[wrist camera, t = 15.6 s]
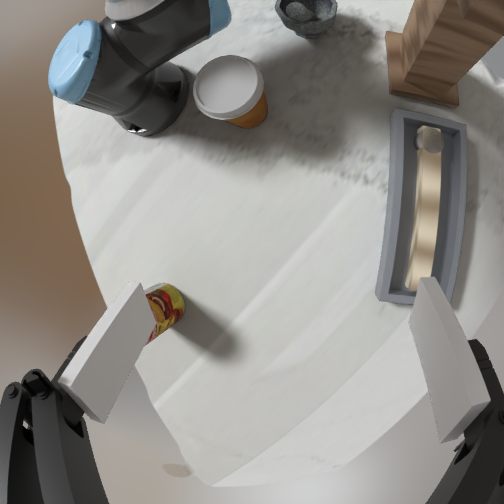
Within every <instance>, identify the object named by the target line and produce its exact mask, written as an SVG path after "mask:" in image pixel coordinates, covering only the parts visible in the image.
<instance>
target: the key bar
mask: <svg viewBox="0 0 504 504" xmlns="http://www.w3.org/2000/svg"><path fill="white" fill-rule="evenodd" d="M414 144H415V148H416V150H417V181H416V199H415V212H414V223H413V233H412V241H411V249H410V256H409V263H408V270H407V276H406V282H405V286H406V287H407V288H408V289H409V290H412V291H417V289H418V285H419V281H420V277H431V271H432V265H433V259H434V252H435V244H436V236H437V227H438V217H439V204H440V187H441V150H442V149H443V146H444V140H443V137H442V135H441V130H440V129H437V128H433V127H428V126H423V125H422V126H421V127H420V128H419V129H418V130H417V135H416V137H415V139H414Z"/></svg>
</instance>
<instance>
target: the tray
mask: <svg viewBox="0 0 504 504" xmlns="http://www.w3.org/2000/svg"><path fill="white" fill-rule="evenodd" d="M422 125H423V126H428V127H433V128H437V129H440V130H441V135H442V137H443V140H444V146H443V149H442V150H441V187H440V204H439V217H438V227H437V236H436V244H435V252H434V259H433V265H432V271H431V277H435V278H436V280H437V282H438V283H439V285H440V287H441V289H442V291H443V292H444V294H445V296H446V298H447V300H448V302H449V304H450V302H451V298H452V294H453V289H454V284H455V280H456V274H457V269H458V263H459V257H460V251H461V244H462V237H463V228H464V219H465V208H466V192H467V131H466V124H462V123H459V122H455V121H451V120H447V119H444V118H440V117H435V116H431V115H427V114H422V113H418V112H413V111H408V110H403V109H397V108H396V109H395V110H394V111H393V113H392V114H391V116H390V167H389V185H388V199H387V210H386V220H385V229H384V238H383V245H382V253H381V260H380V266H379V273H378V279H377V284H376V290H375V294H376V296H377V298H378V300H379V301H384V302H393V303H403V304H413V305H414V301H415V297H416V293H417V291H412V290H409V289H408V288H407V287H406V286H405V282H406V276H407V270H408V263H409V256H410V249H411V241H412V233H413V223H414V212H415V199H416V181H417V150H416V148H415V144H414V139H415V137H416V135H417V130H418V129H419V128H420V127H421V126H422Z"/></svg>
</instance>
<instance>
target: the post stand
mask: <svg viewBox="0 0 504 504" xmlns="http://www.w3.org/2000/svg"><path fill="white" fill-rule="evenodd" d="M502 36H504V0H414V3H413V6H412V9H411V11H410V14H409V17H408V20H407V22H406V25H405V28H404V30H403V33H402V34H401V33H396V32H391V31H386V35H385V41H386V50H387V61H388V74H389V92H390V94H394V95H399V96H404V97H409V98H414V99H419V100H423V101H428V102H432V103H436V104H440V105H444V106H447V107H451V108H456V107H457V106H459V98H458V89H457V82H458V81H459V80H460V79H461V78H462V77H463V76H464V75H465V74H466V73H467V72H468V71H469V70H470V69H471V68H472V67H473V66H474V65H475V64H476V63H477V62H478V61H479V60H480V59H481V58H482V57H483V56H484V55H485V54H486V53H487V52H488V51H489V50H490V49H491V48H492V47H493V46H494V45H495V44H496V43H497V42H498V41H499V39H501V38H502Z"/></svg>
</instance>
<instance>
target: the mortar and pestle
mask: <svg viewBox="0 0 504 504" xmlns="http://www.w3.org/2000/svg"><path fill="white" fill-rule="evenodd" d="M275 10H276V12H277V14H278V15H279V17H280V18H281V20H282V21H283V23H284V25H285V26H286V27H287V28H289V29H291V30H293V31H294V32H295V33H296V35H298V36H301V37H303V38H305V39H312V38H319V37H320V36H322V35H323V34H325V33H326V29H327V28H329V27H330V26H332V25H333V24H334V20H335V16H336V12H337V2H336V1H335V0H277V2H276V4H275Z"/></svg>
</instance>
